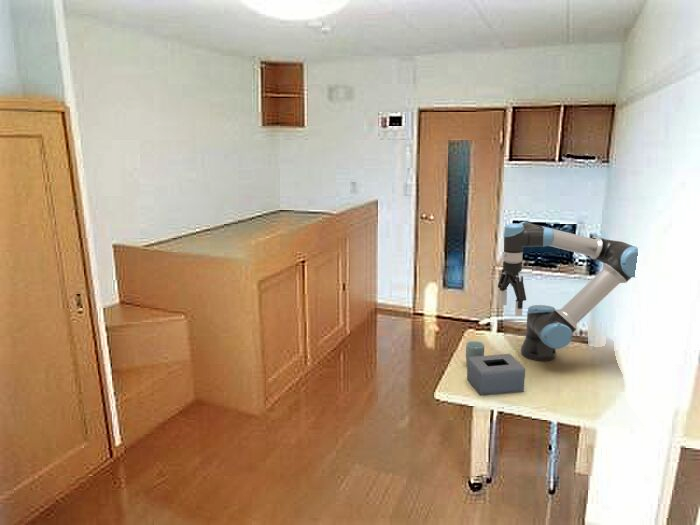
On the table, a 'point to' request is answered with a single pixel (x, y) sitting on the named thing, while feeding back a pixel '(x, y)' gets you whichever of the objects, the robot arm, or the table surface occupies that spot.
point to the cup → (474, 349)
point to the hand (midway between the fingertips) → (510, 310)
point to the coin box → (495, 374)
